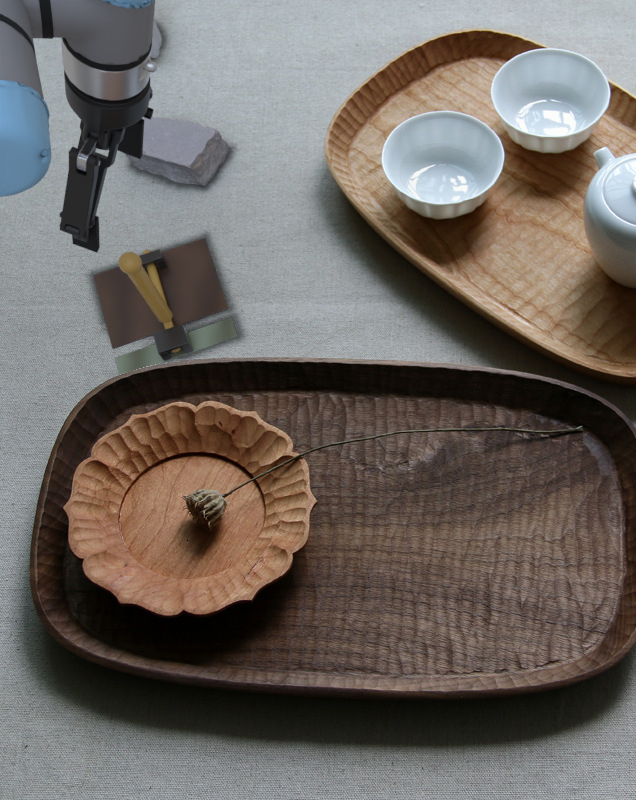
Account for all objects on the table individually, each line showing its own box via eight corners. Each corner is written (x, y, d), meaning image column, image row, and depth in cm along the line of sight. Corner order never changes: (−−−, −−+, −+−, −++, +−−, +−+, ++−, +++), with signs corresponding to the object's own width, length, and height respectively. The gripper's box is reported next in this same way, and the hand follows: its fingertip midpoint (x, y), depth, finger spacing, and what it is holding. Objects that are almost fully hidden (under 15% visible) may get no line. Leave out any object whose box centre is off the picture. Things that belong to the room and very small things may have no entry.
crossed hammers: (167, 355, 106) (125, 296, 91) (139, 258, 112) (95, 187, 97) (186, 348, 106) (147, 288, 91) (157, 252, 112) (116, 181, 97)
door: (123, 381, 106) (112, 369, 103) (97, 280, 113) (85, 265, 109) (240, 341, 108) (232, 327, 104) (207, 243, 114) (199, 227, 110)
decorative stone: (231, 192, 118) (232, 136, 121) (219, 163, 111) (220, 104, 114) (131, 201, 118) (135, 144, 121) (113, 172, 112) (118, 113, 115)
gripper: (97, 193, 70) (100, 300, 89) (192, -6, 80) (177, 128, 99) (8, 159, 68) (31, 275, 87) (116, -39, 78) (116, 104, 97)
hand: (108, 197), depth 93 cm, fingers open, 13 cm apart
